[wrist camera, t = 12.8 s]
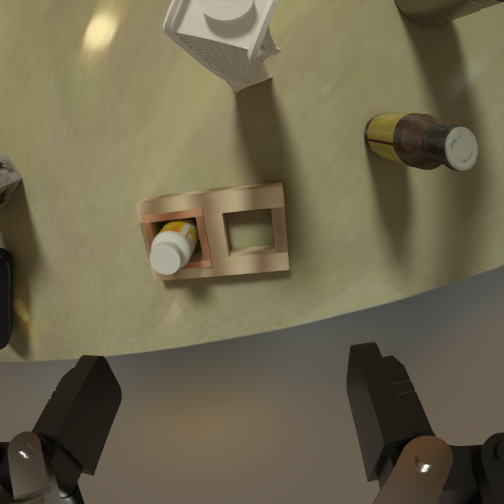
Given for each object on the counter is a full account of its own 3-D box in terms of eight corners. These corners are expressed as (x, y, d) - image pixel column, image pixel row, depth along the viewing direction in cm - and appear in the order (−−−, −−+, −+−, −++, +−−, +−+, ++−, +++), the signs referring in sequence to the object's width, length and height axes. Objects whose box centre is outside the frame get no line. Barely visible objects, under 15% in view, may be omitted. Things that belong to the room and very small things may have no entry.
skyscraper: (285, 83, 37) (331, 27, 12) (233, 106, 39) (188, 89, 13) (258, 34, 34) (256, -81, 9) (207, 57, 36) (125, -24, 10)
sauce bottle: (404, 153, 40) (489, 186, 22) (365, 158, 41) (437, 194, 23) (398, 110, 38) (485, 116, 20) (358, 114, 38) (430, 118, 20)
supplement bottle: (206, 229, 46) (195, 258, 37) (186, 255, 48) (171, 288, 39) (177, 207, 45) (158, 231, 36) (158, 235, 46) (136, 263, 38)
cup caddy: (281, 181, 43) (282, 186, 40) (287, 260, 48) (289, 270, 45) (142, 198, 44) (134, 205, 41) (159, 271, 49) (154, 282, 46)
